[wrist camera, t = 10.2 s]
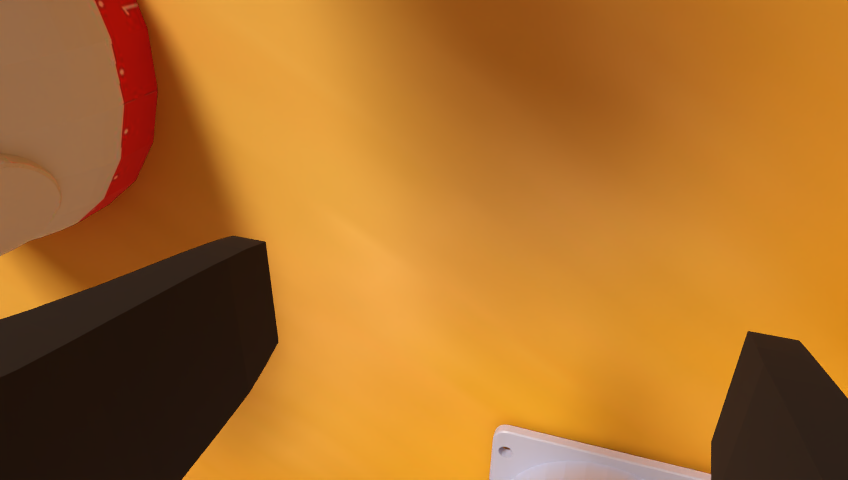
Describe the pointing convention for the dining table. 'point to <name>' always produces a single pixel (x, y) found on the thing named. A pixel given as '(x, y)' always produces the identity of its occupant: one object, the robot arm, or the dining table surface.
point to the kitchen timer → (70, 111)
